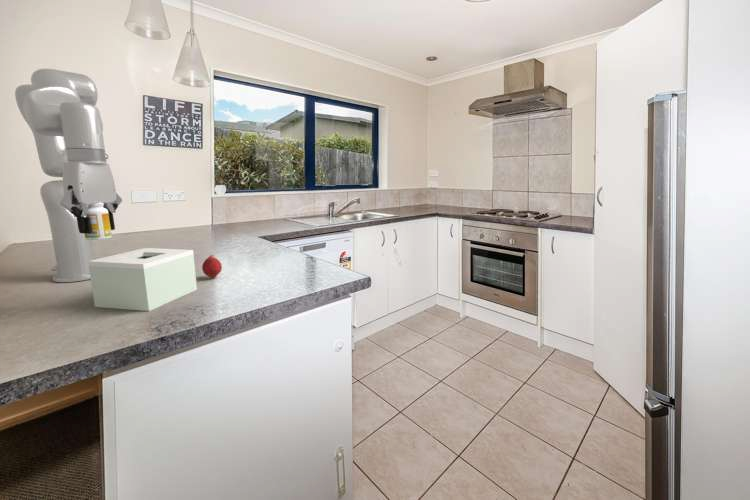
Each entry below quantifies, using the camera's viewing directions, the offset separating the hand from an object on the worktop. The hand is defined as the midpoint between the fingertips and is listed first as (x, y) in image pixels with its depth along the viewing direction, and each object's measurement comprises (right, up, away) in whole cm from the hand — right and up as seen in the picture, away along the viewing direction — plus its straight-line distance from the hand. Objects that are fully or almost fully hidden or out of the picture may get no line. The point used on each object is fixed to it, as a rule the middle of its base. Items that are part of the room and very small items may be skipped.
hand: (97, 230), depth 91 cm
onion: (+16, -14, +28) cm, 36 cm away
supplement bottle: (0, -2, 0) cm, 2 cm away
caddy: (+8, -18, +9) cm, 21 cm away
